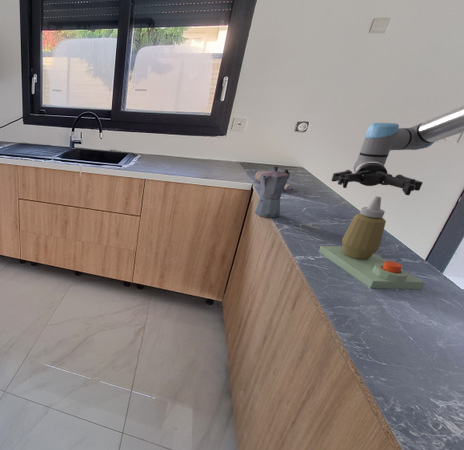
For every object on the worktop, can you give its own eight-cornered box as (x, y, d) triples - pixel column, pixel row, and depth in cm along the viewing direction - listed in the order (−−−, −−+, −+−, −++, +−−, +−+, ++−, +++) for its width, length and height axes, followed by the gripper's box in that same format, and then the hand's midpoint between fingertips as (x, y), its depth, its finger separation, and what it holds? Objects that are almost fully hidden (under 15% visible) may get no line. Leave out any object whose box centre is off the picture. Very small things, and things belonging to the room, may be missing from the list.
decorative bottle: (252, 181, 175) (255, 170, 173) (266, 181, 175) (269, 169, 172) (281, 195, 151) (285, 182, 149) (297, 195, 151) (300, 181, 149)
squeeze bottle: (372, 264, 86) (398, 203, 79) (335, 255, 92) (356, 197, 85) (375, 255, 91) (400, 196, 84) (340, 246, 97) (360, 191, 90)
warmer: (359, 252, 97) (363, 241, 96) (421, 289, 79) (428, 276, 77) (318, 252, 98) (322, 240, 97) (370, 288, 80) (376, 275, 78)
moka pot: (244, 213, 130) (254, 166, 122) (266, 207, 136) (277, 162, 129) (266, 221, 122) (279, 171, 114) (289, 214, 129) (302, 166, 121)
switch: (391, 267, 82) (394, 261, 81) (402, 274, 79) (406, 267, 78) (378, 267, 82) (381, 260, 82) (389, 273, 79) (392, 266, 79)
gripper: (418, 189, 100) (433, 206, 85) (321, 179, 115) (319, 192, 100) (428, 166, 97) (445, 180, 82) (327, 158, 112) (326, 169, 97)
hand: (376, 187), depth 91 cm, fingers open, 13 cm apart
